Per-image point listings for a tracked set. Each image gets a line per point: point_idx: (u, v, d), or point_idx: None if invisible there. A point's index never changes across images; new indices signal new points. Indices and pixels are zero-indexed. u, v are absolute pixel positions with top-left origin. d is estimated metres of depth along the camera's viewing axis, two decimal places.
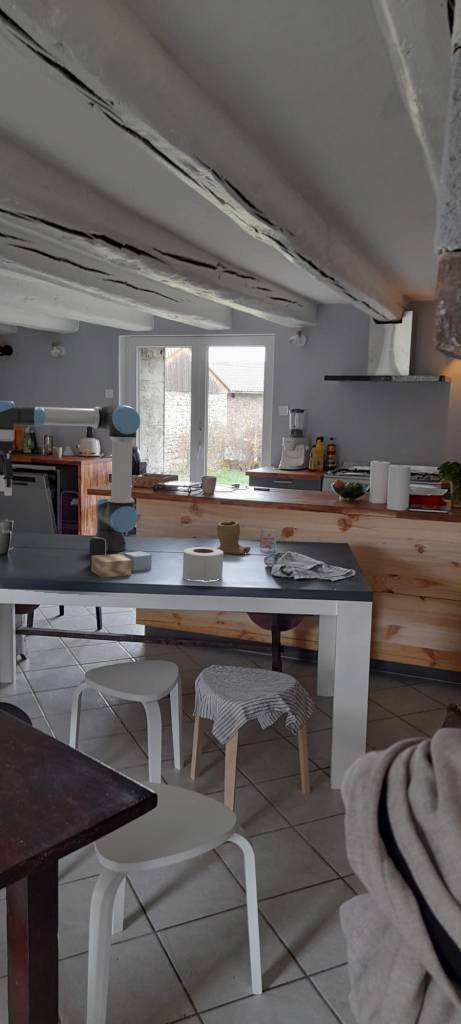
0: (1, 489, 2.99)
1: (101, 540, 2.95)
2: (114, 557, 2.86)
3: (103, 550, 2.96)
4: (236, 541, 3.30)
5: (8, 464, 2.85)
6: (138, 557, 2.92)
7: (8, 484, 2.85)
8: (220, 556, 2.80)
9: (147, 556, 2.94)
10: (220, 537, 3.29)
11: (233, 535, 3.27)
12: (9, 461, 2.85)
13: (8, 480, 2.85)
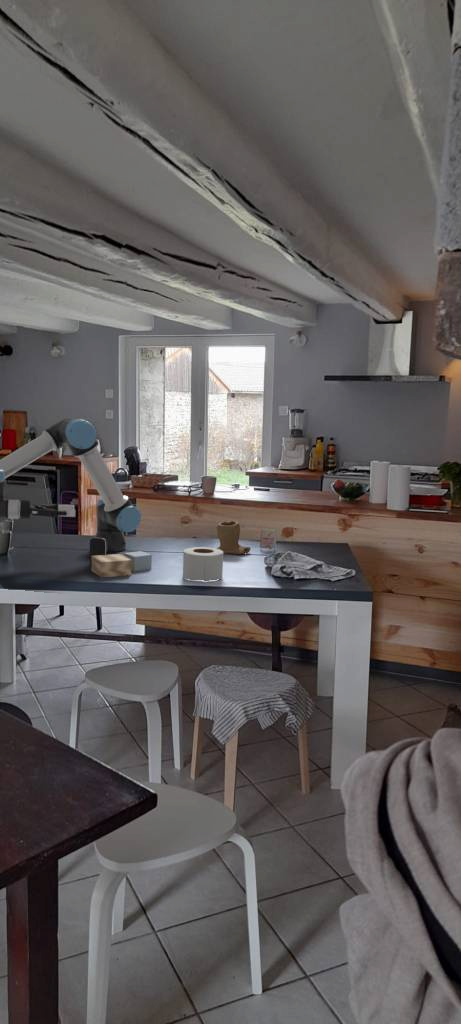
0: (72, 508, 3.00)
1: (101, 540, 2.95)
2: (114, 557, 2.86)
3: (103, 550, 2.96)
4: (236, 541, 3.30)
5: (43, 512, 2.83)
6: (138, 557, 2.92)
7: (63, 514, 2.85)
8: (220, 556, 2.80)
9: (147, 556, 2.94)
10: (220, 537, 3.29)
11: (233, 535, 3.27)
12: (40, 511, 2.83)
13: (59, 514, 2.84)
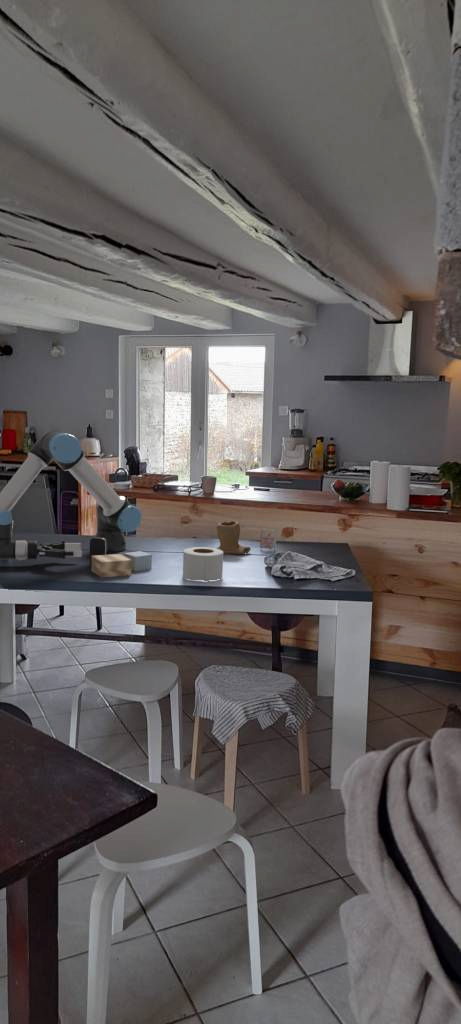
0: (79, 546, 3.02)
1: (101, 540, 2.95)
2: (114, 557, 2.86)
3: (103, 550, 2.96)
4: (236, 541, 3.30)
5: (50, 553, 2.86)
6: (139, 557, 2.92)
7: (70, 554, 2.87)
8: (220, 556, 2.80)
9: (147, 556, 2.94)
10: (220, 537, 3.29)
11: (233, 535, 3.27)
12: (47, 552, 2.86)
13: (66, 554, 2.87)
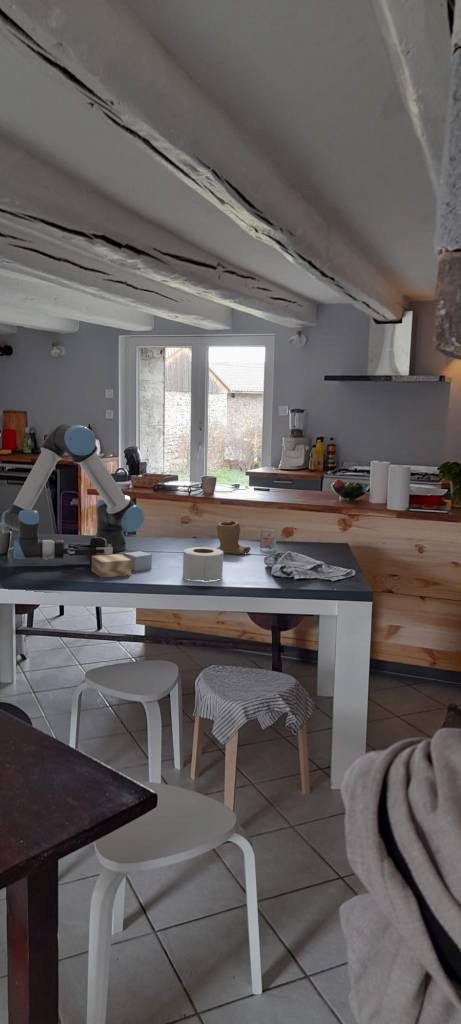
0: (109, 547, 3.02)
1: (101, 540, 2.96)
2: (114, 557, 2.86)
3: None
4: (236, 541, 3.30)
5: (81, 552, 2.90)
6: (139, 557, 2.92)
7: (101, 552, 2.94)
8: (220, 556, 2.80)
9: (147, 556, 2.95)
10: (220, 537, 3.29)
11: (233, 535, 3.27)
12: (77, 551, 2.90)
13: (97, 552, 2.93)
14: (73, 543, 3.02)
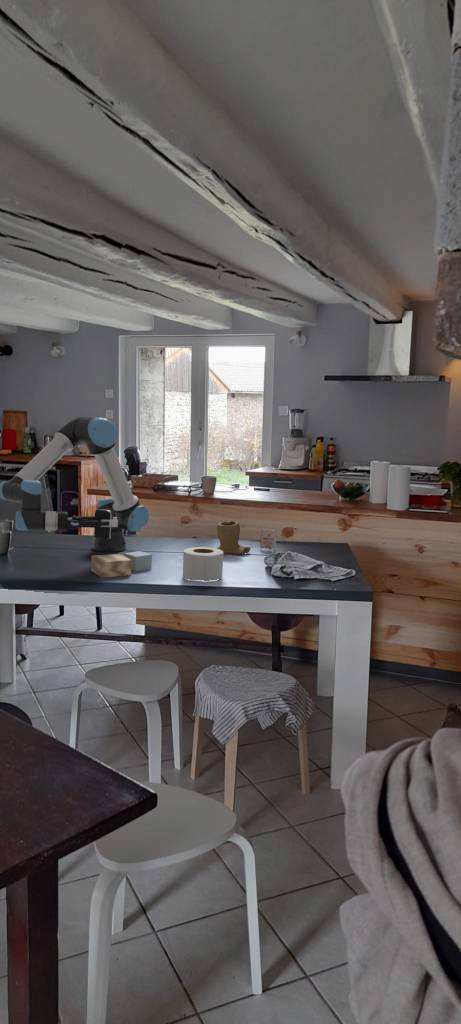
0: None
1: (106, 512, 2.85)
2: (114, 557, 2.86)
3: None
4: (236, 541, 3.30)
5: (85, 524, 2.80)
6: (139, 557, 2.92)
7: (106, 524, 2.83)
8: (220, 556, 2.80)
9: (148, 556, 2.95)
10: (220, 537, 3.29)
11: (233, 535, 3.27)
12: (81, 523, 2.80)
13: (102, 524, 2.83)
14: None
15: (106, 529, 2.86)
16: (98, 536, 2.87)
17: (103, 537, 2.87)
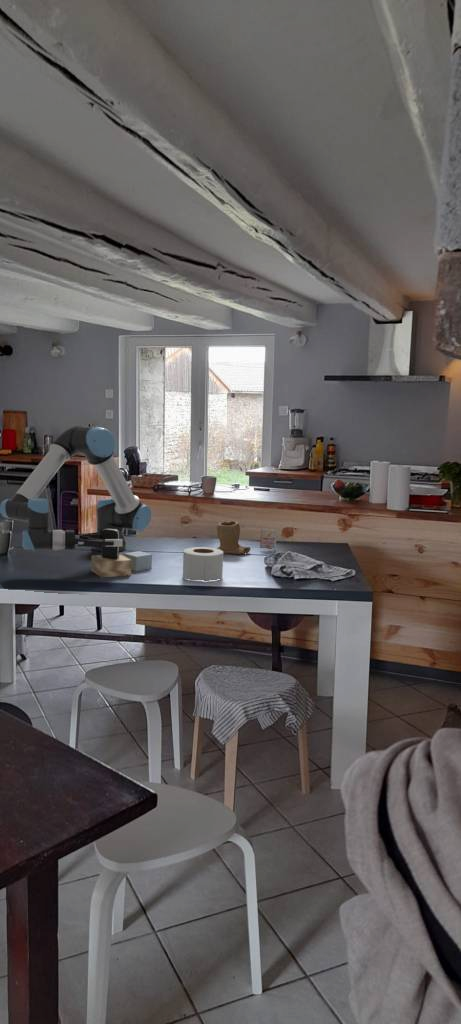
0: None
1: (114, 532, 2.82)
2: None
3: None
4: (236, 541, 3.30)
5: (89, 543, 2.75)
6: (140, 557, 2.92)
7: (110, 544, 2.76)
8: (220, 556, 2.80)
9: (148, 556, 2.95)
10: (220, 537, 3.29)
11: (233, 535, 3.27)
12: (86, 542, 2.75)
13: (106, 544, 2.76)
14: None
15: (114, 548, 2.83)
16: (106, 556, 2.84)
17: (111, 557, 2.84)
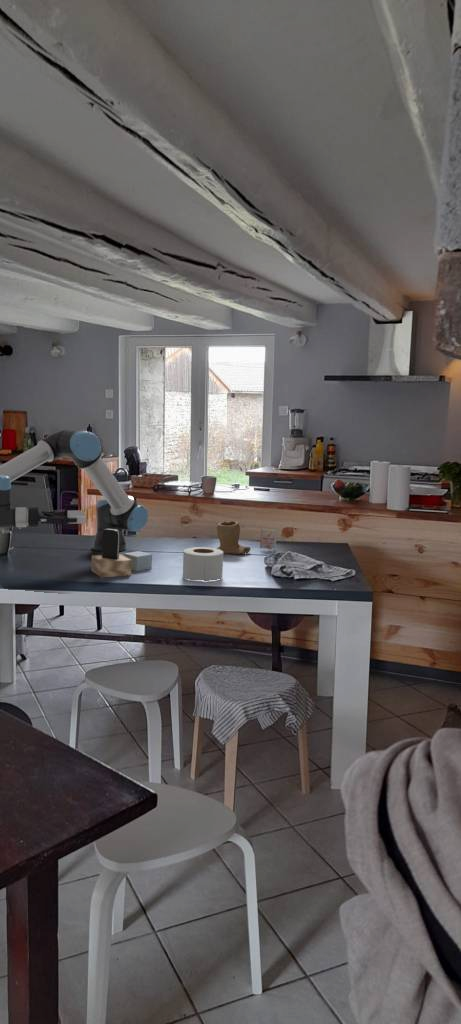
0: (82, 513, 2.86)
1: (114, 532, 2.82)
2: None
3: (116, 542, 2.82)
4: (236, 541, 3.30)
5: (52, 520, 2.70)
6: (140, 557, 2.92)
7: (73, 521, 2.71)
8: (220, 556, 2.80)
9: (148, 556, 2.95)
10: (220, 537, 3.29)
11: (233, 535, 3.27)
12: (49, 519, 2.70)
13: (69, 521, 2.71)
14: None
15: (114, 548, 2.83)
16: (106, 556, 2.84)
17: (111, 557, 2.84)
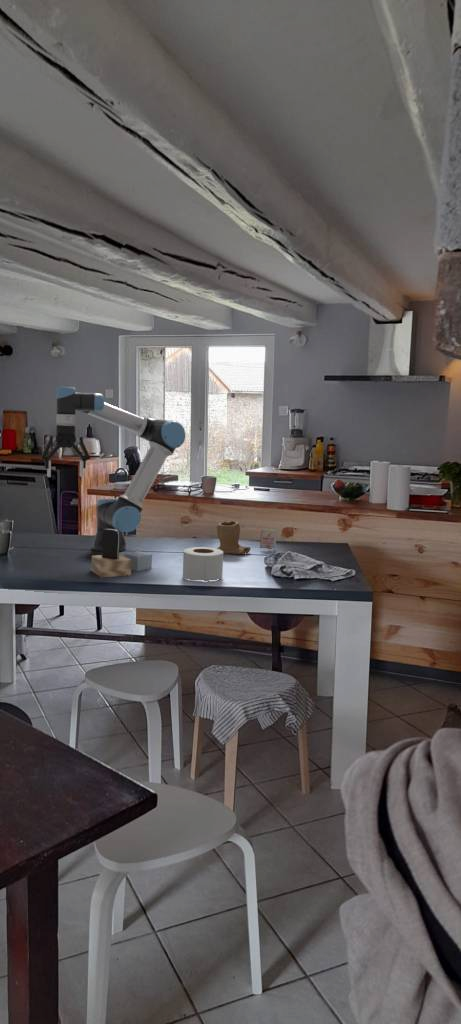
0: None
1: (114, 532, 2.82)
2: None
3: (116, 542, 2.82)
4: (236, 541, 3.30)
5: None
6: (141, 557, 2.92)
7: None
8: (220, 556, 2.80)
9: (148, 556, 2.95)
10: (220, 537, 3.29)
11: (233, 535, 3.27)
12: None
13: None
14: None
15: (114, 548, 2.83)
16: (106, 556, 2.84)
17: (111, 557, 2.84)
